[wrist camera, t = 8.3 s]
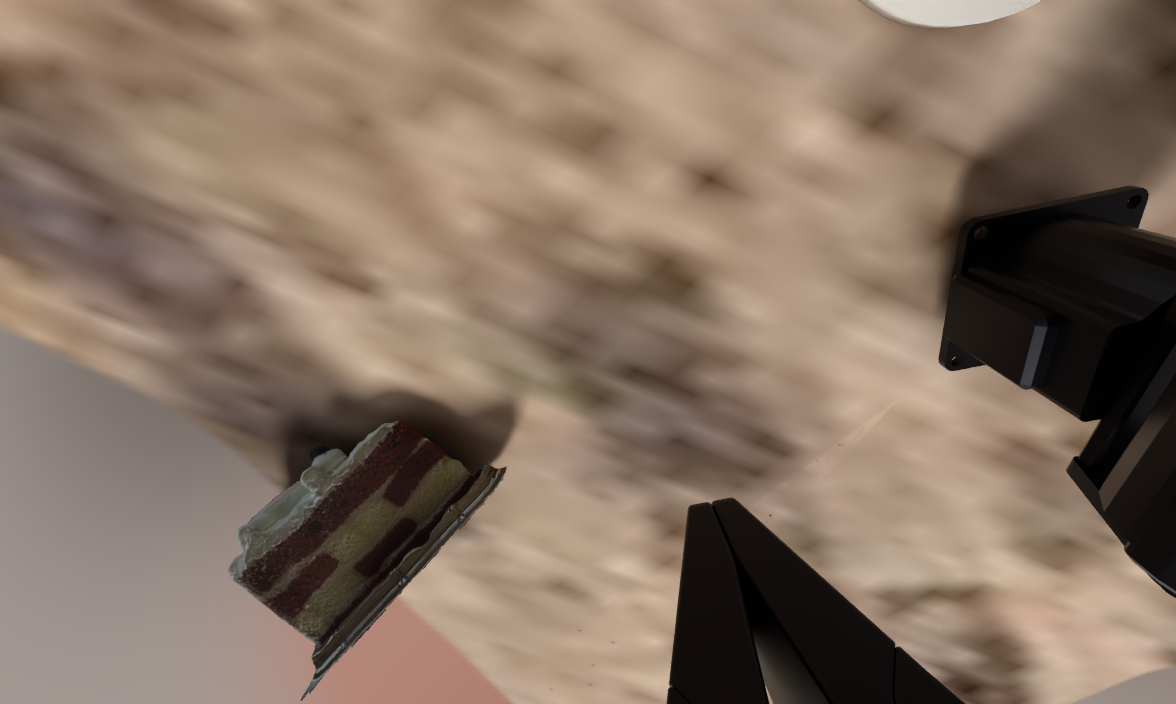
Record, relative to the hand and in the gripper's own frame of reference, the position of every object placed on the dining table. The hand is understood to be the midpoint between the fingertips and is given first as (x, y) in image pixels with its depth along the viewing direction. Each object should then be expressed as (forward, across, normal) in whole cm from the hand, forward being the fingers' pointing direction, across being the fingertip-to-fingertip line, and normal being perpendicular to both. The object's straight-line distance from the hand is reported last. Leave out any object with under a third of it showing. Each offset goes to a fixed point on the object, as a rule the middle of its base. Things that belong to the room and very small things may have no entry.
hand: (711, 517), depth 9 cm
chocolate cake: (+15, +10, +7) cm, 19 cm away
